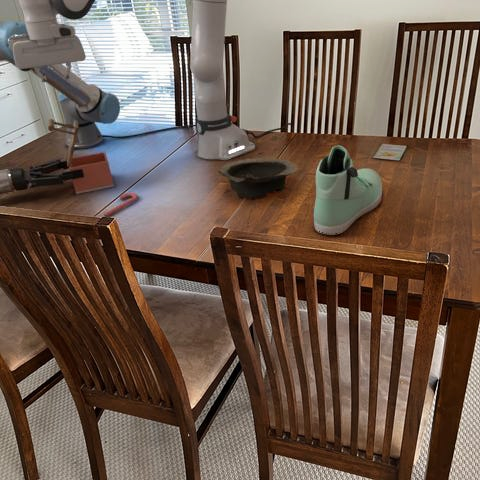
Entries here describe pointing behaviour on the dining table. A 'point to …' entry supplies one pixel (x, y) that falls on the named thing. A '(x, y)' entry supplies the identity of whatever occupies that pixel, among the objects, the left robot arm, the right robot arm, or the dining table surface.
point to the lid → (73, 133)
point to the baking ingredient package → (390, 152)
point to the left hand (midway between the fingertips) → (82, 167)
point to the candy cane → (122, 203)
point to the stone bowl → (257, 176)
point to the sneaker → (343, 192)
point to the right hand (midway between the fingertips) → (56, 80)
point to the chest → (92, 172)
